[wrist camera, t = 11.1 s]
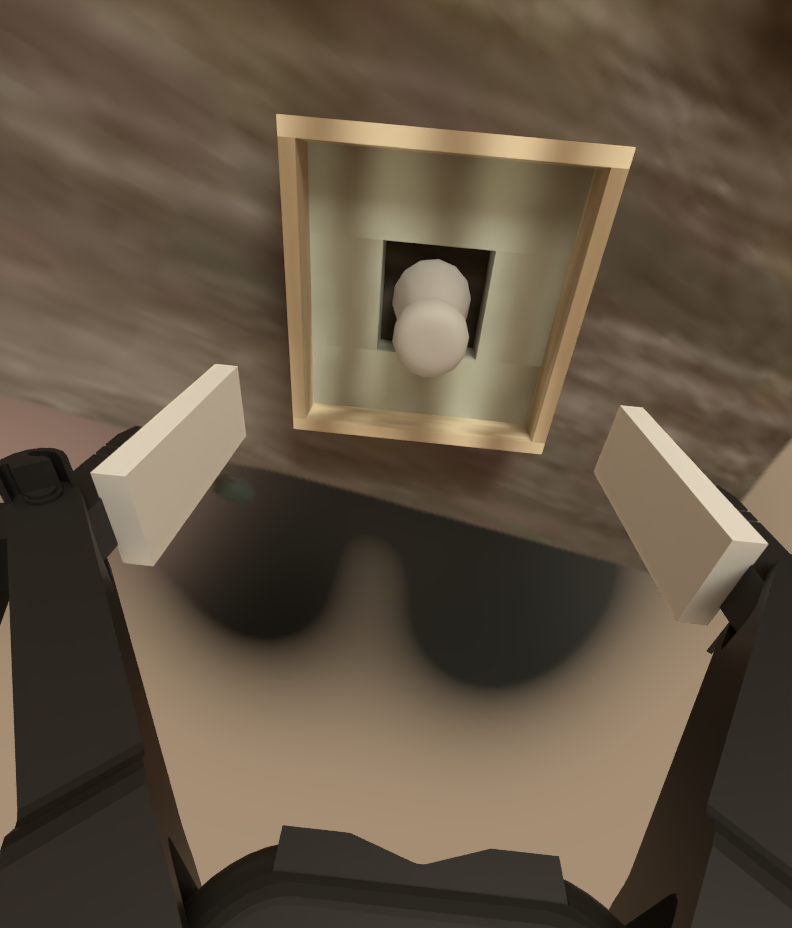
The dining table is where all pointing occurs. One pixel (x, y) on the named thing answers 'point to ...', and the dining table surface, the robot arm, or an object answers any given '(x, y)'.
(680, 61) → the dining table surface
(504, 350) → the insert box
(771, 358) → the dining table surface
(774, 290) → the dining table surface
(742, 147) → the dining table surface
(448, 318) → the salt shaker
